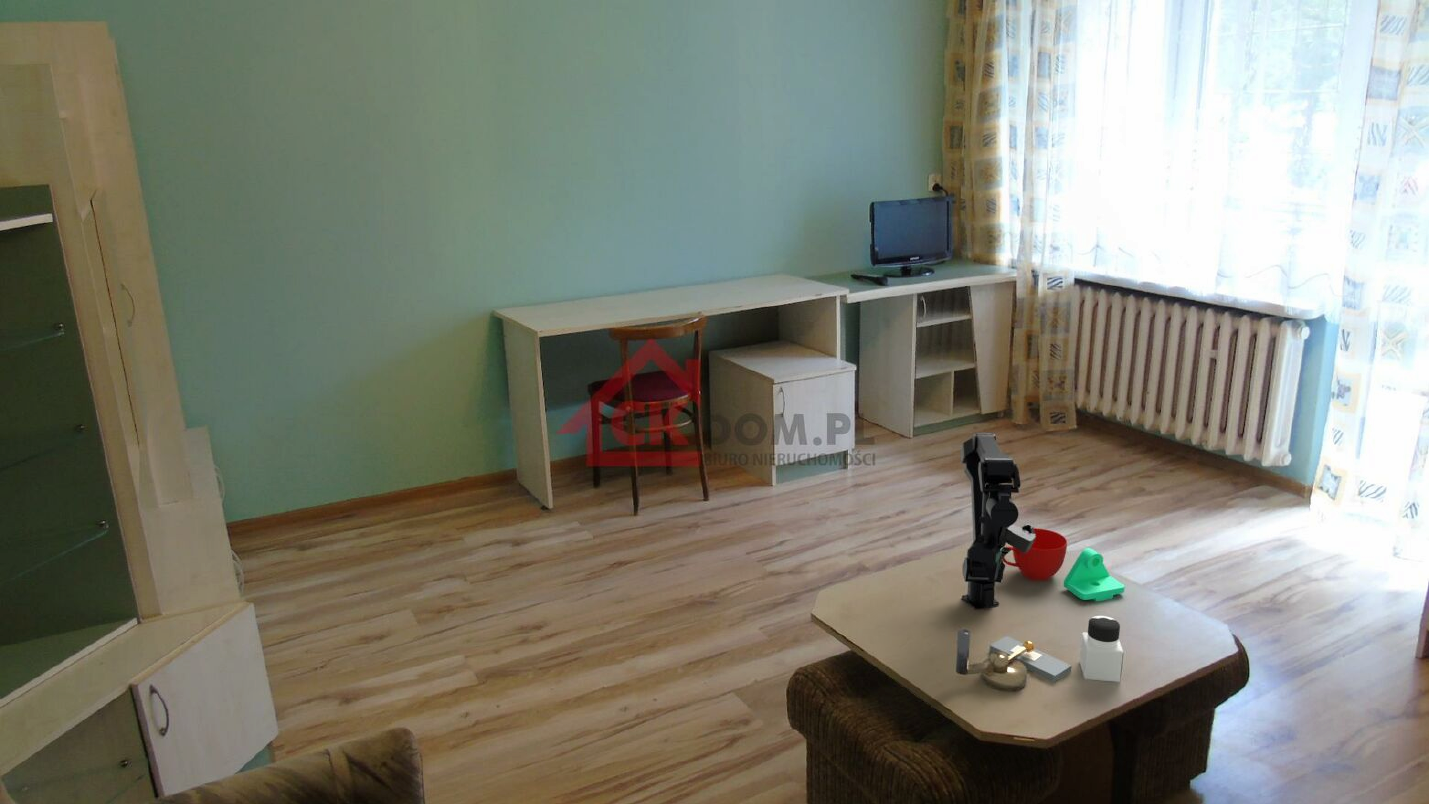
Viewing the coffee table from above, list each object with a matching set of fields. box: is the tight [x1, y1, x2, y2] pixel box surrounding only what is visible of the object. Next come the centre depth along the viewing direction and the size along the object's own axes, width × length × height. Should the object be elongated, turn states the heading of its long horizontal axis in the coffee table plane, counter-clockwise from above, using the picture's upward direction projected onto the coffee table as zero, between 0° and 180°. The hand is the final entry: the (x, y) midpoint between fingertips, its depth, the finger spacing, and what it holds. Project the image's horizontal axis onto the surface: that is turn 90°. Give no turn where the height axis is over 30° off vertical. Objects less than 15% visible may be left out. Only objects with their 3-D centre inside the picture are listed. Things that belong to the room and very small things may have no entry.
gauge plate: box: [989, 635, 1072, 683], centre depth 212 cm, size 16×6×2 cm, turn 39°
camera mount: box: [1063, 547, 1125, 602], centre depth 239 cm, size 12×8×10 cm, turn 107°
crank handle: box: [955, 629, 1035, 692], centre depth 205 cm, size 20×12×12 cm, turn 99°
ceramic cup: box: [1002, 527, 1068, 582], centre depth 248 cm, size 13×17×10 cm
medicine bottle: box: [1079, 615, 1124, 683], centre depth 206 cm, size 7×7×12 cm
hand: (992, 580), depth 220 cm, fingers closed
